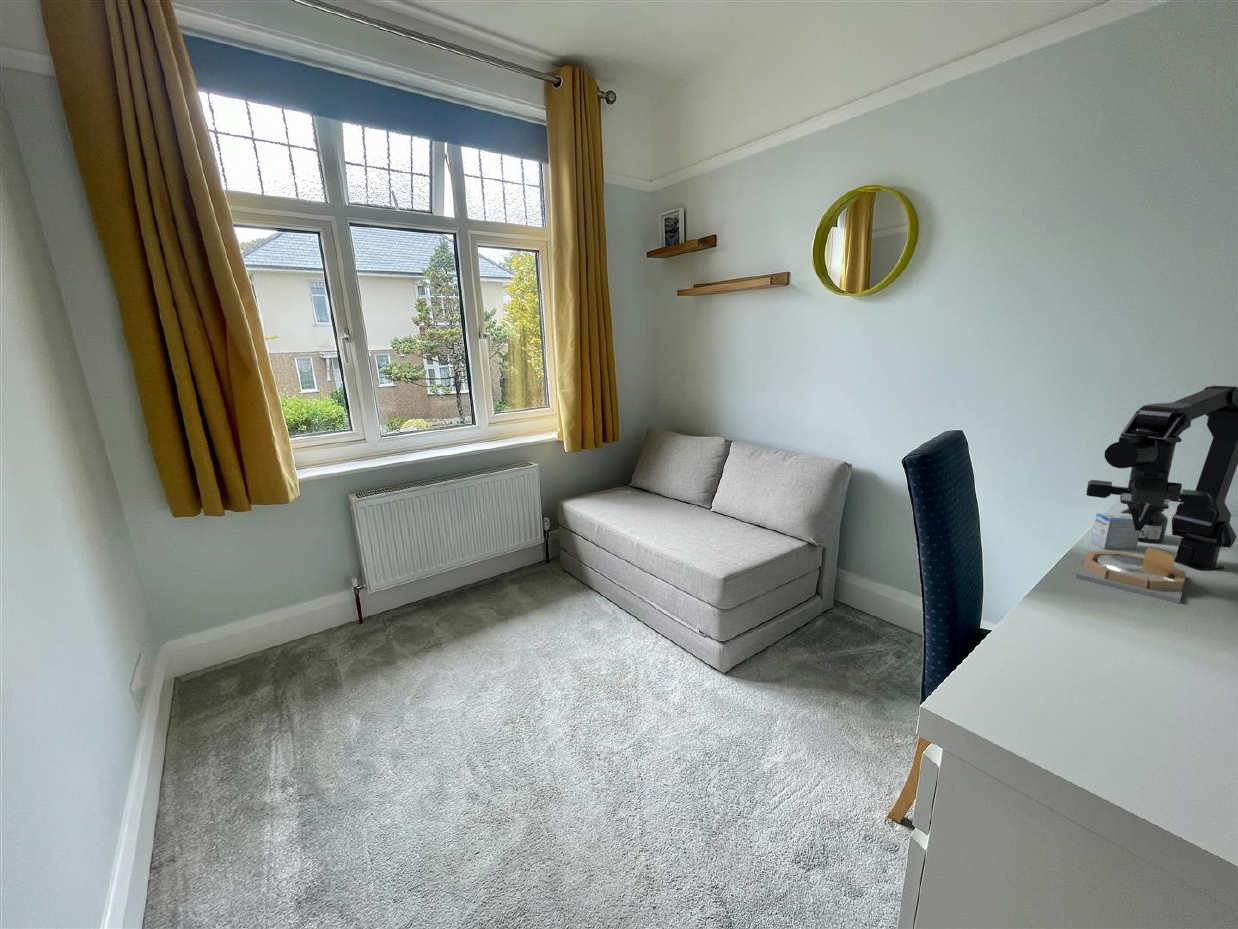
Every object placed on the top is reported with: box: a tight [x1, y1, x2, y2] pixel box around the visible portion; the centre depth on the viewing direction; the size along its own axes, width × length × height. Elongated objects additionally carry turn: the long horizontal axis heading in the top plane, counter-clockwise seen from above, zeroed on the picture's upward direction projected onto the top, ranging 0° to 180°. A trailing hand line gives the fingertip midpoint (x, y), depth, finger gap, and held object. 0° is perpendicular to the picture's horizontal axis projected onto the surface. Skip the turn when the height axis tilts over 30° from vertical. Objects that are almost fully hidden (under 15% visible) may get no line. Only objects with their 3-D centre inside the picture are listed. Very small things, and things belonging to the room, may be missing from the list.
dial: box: [1097, 547, 1177, 578], centre depth 112 cm, size 12×12×7 cm
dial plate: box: [1075, 550, 1187, 604], centre depth 112 cm, size 18×16×3 cm
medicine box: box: [1090, 512, 1140, 550], centre depth 129 cm, size 8×4×9 cm, turn 84°
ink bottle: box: [1121, 503, 1169, 543], centre depth 134 cm, size 10×9×12 cm
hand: (1137, 530), depth 110 cm, fingers closed
